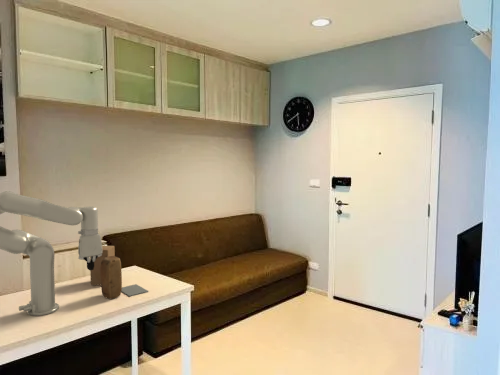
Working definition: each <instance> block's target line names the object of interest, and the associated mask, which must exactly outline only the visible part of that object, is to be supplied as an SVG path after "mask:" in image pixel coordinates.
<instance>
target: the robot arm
mask: <svg viewBox="0 0 500 375" xmlns="http://www.w3.org/2000/svg"><path fill="white" fill-rule="evenodd" d="M98 212H99V211H98V207H96V206H84V207H77V206H69V207H65V206H61V205H58V204H55V203H51V202H49V201H47V200H44V199H40V198H36V197H32V196H27V195H21V194H18V193H15V192H13V191H10V190H9V191H8V190H7V191H1V192H0V215H2V214H4V213H7V214H8V213H10V214H14V215H20V216H24V217H29V218H34V219H39V220H43V221H48V222H51V223H52V222H53V223H57V224H62V225H67V226H78V225H79V224H80V230H79V231H78V232H77V234H78V235H79V239H78V248H77V249H78V251H77V253H78V258H77V259H79V260H84V261H85V262H86V269H87V270H89V271H90V270H94V261H95V260H96V259H97V257H100V256H102V246H103V244H102V236H101V234H100V233H99V213H98ZM0 250H2V251H5V252H8V253H9V254H14V255H19V254H23V255H26V256H29V279H30V280H29V281H30V301H28V303H27V304H25V305H20V306H18V311H19V312H20V311H23V312H27V314H28V315H29V316H38V317H39V316H46V315H49V314H52V313H55V312H56V311H57V310H59V308H60V305H59V304H58V302H56V289H55V286H56V285H55V284H56V283H55V250H54V247H53V245H52V243H51V242H50V241H48V240H47V239H46V238H43V237H42V236H38V235H35V234H33V233H30V232H28V231H25V230H22V229H12V230H10V229H7V228H6V227H3V226H0ZM90 256H91V260H90Z"/></svg>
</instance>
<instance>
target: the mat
mask: <svg viewBox="0 0 500 375" xmlns="http://www.w3.org/2000/svg"><path fill="white" fill-rule="evenodd" d="M148 292H149V290H147V289H146V288H144V287H142V286H140V285H139V284H137V283H135V284H132V285H127V286H122V291H121V293H123V294H124V295H126V296H127V297H129V298H130V297H135V296H137V295H142V294H145V293H148Z"/></svg>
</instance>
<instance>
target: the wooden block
mask: <svg viewBox="0 0 500 375" xmlns="http://www.w3.org/2000/svg"><path fill="white" fill-rule="evenodd" d="M115 252H116V250H115V245H102V256H100V257H97V259H96V260H95V261H94V270H89V271H90V273H89V274H90V275H89V276H90V285H91V286H101V285H102V282H101V275H100V266H101V262H102V260H103V258H105V257H109V256H116V255H115ZM90 260H91V256H90Z"/></svg>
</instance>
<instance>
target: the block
mask: <svg viewBox="0 0 500 375" xmlns="http://www.w3.org/2000/svg"><path fill="white" fill-rule="evenodd" d="M122 272H123V271H122V262H121V258H120V257H118V256H116V255H115V256H109V257H105V258H103V260H102V262H101V266H100V275H101V282H102V285H100V286H101V295H102V296H103V298H106V299H108V300H113V299H117V298H119V297H120V296H121V295H122V292H121V291H122V287H123V284H122V283H123V282H122V281H123V279H122V277H123V276H122Z"/></svg>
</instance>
